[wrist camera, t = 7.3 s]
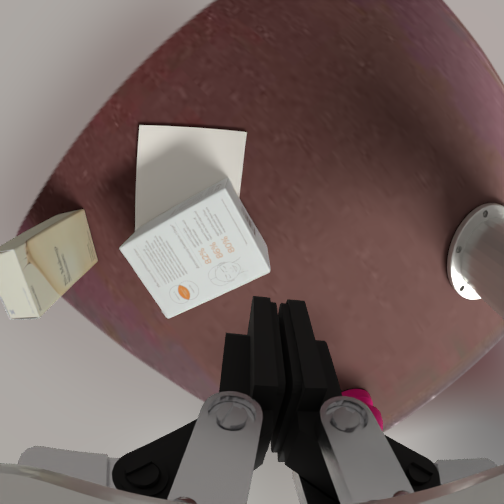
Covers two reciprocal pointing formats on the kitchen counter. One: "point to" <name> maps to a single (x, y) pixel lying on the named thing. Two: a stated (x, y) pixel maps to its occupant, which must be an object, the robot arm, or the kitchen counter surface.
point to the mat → (183, 165)
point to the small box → (197, 250)
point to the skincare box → (44, 264)
